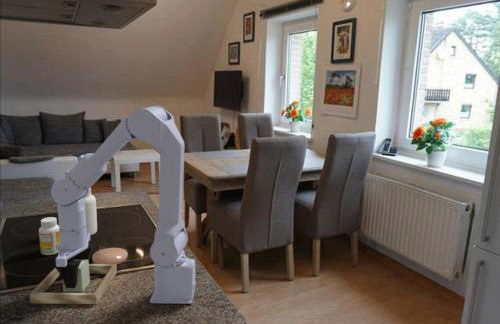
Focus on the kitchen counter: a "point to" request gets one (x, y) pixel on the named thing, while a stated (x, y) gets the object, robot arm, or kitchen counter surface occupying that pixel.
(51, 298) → the crate frame
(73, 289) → the block
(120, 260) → the coaster
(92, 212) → the pill bottle
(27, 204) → the kitchen counter surface
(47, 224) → the supplement bottle
